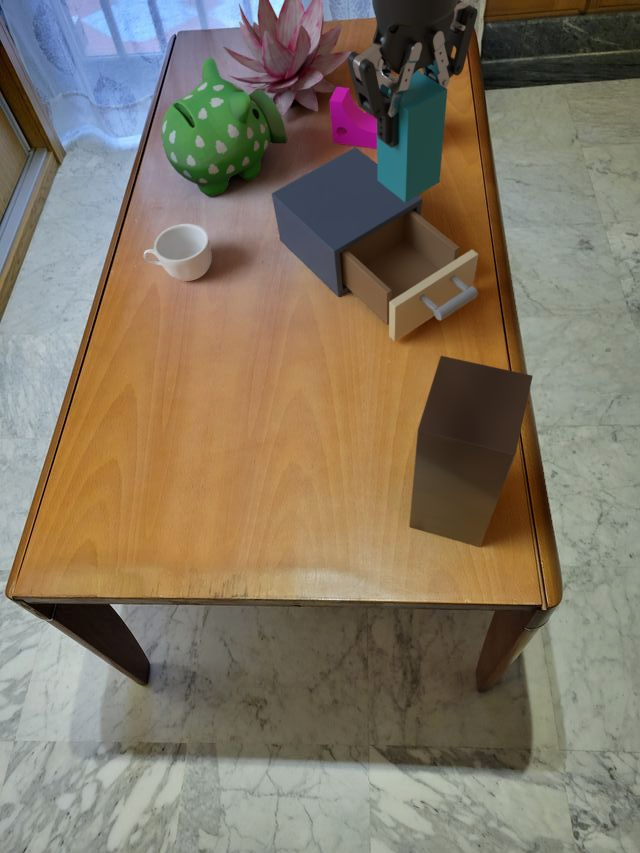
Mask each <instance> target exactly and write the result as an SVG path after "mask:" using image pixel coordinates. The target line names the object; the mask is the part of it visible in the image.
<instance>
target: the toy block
mask: <svg viewBox="0 0 640 853" xmlns="http://www.w3.org/2000/svg"><path fill="white" fill-rule="evenodd" d="M329 110H330V111H329V113H330V122H331V124H330V125H331V135H332V144H339V145H346V146H354V147H360V148H368V149H373V150H374V149H375V150H377V119H376V118H375V117H373V116H372V115H370V114H369V113H368V112H366V111H364V110H363V109H362V108H361V107H360V106H359V105H358V104H356V102H355V101H354V99H353V96H352V94H351V92H350V87H343V86H336V89H335V91H334V92H332V95H331V97H330V99H329Z"/></svg>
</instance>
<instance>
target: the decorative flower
mask: <svg viewBox="0 0 640 853" xmlns="http://www.w3.org/2000/svg"><path fill="white" fill-rule="evenodd" d="M270 1H271V0H258V5H257V6H258V7H257V14H256V15H257V22H255V21H253V22H252V25H251V23H250V21H249V20H248V19H247V17H246V15H245V12H244V10H243V8H242V6H241V4H240V3H238V7H239V12H240V19H241V21H238V24H239V27H240V33H241V36H242V40H243V42H244V44H245V45H246V47H247V49H248V50H249V52H250V53H251V55H252V56H253V57H254V58H255V59H254V58H252V57H248V56H246V55H243V54H241V53H238V52H236V51H233V50H232V49H230V48H227V47H226V46H223V49H224V51H226V52H227V53H228V55H229V56H230V58H232V59H233V60H235V61H237V62H238V63H239V64H240V65H242V66H244V67H246V68H247V69H249V70H252V71H254V72H256V73H259V74H263V75H259V76H249V77H236V76H234V75H229V74H228V77H230V78H232V79H233V80H235V81H238V82H242V83H246V84H244V87H247V88H252V89H258V88H261V87H266V86H267V87H266V88H265V89H264V90H263V91H264V92H265V93H266V94H267V95H268V96H269V97H270V98H271V99H272V98H273V99H272V101H273V102H274V103H275V105H276V106H277V108H278V110H279V112H280V114H281V116H282V117H283V116H284V115H285V114H286V113H287V112H288V111H289V110H290V108H291V106H292V103H293V102H294V100H296V102H298V104H300V105H301V106H303V107H304V108H306V109H309V110H311V111H314V112H318V111H319V105H318V104H319V103H318V98H317V96H316V95H317V94H316V93H322V94H323V93H324V94H327V93H328V94H329V93H334V91H335V89H336V88H337V86H335V85H334V84H332V82H329V80H327V79H325V78H324V77H326V76H328V75H329V74H331V73H333V72H334V71H335V70H336V69H337V68H338V67H339V66H340V65H341V64H343V63H344V62H345V61H347V60H348V56H349V55H350V53H351V52H352V50H348V51H340V52H333V50H334V49H335V47H336V45H337V43H338V41H339V37H340V34H341V31H342V29H343V25H342V23H341V24H339V25H337V26H334V27H333V28H331V29H329V30H327V31H326V32H324V33H323V29H324V25H325V22H324V20H325V18H324V17H325V16H324V5H323V0H311V1H310V3H309V4H308V6H307V7H306V9H305V7H304V3H303V1H302V0H283V3H282V6H281V8H280V10H279V13H278V15H277V14H276V11H275V10H274V7H273V5H272V3H271V2H270Z"/></svg>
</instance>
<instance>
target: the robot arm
mask: <svg viewBox="0 0 640 853" xmlns="http://www.w3.org/2000/svg"><path fill="white" fill-rule="evenodd" d="M371 3H372V4H371V5H372V8H373V14H374V16H375V21H376V28H375V32H374V34H373V38H372V44H371V45H370V46H368V47H367V49H365V50H364V51H362V53H358V51H356V50H354V51H351V53H350V55H349V56H348V57H347V66H348V70H349V73H350V76H351V80H352V83H353V88H354V91H355V96H356V99H357V103H358V107H359V108H360V109H361V110H363V111H364V112H365V113H366V112H368V113H369V114H370V115H372V116H373V117H375V118H376V119H377V136H378V138H379V139H380V140H382V141H383V142H384V143H385V144H387V145H388V146H389V147H391V148H393V147H395V146H396V145H398V138H399V113H397V112H398V109H399V106H400V102H401V99H402V95H403V93H404V92H407V91H408V88H409V85H410V81H411V78H412V75H413V74H414V73H415V72H416V71H417V70H418V71H419V70H420V69H421V70H422V73H423V74H424V75H426V76H427V77H429V78H430V79H432V80H434V81H435V82H437V83H438V84H440V85H441V86H443V87H445V88H446V89H447V87H448V86H449V83H450V79H451V78H452V77H453V76H458V77H459V75H461V74H462V72H463V71H464V68H465V63H466V60H467V55H468V53H469V52H468V51H469V48H470V44H471V40H472V36H473V33H474V28H475V25H476V21H477V17H478V9H477V8H476V7H474V6H472V5H471V4H470V3H467V2H466V1H463V0H371ZM454 48H455V53H454V57H453V56H452V55H453V50H454ZM393 72H394V73H395V74H396V75H398V76H396V75H394V74H393ZM397 77H398V78H397ZM389 88H390V90H391V94H390V97H389V99H388V98H387V95H388V91H389Z"/></svg>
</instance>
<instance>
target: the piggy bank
mask: <svg viewBox="0 0 640 853" xmlns="http://www.w3.org/2000/svg"><path fill="white" fill-rule="evenodd" d="M201 78H202V79H201V80H202V82H200V83H199V84H198V85H197V86H196V87H195V88H194V89H193V90H192V91H191V92H189V93H188V94H187V95H186V96H184V97H182V98H180V99H178V100H176V101H174V102H173V103H172V104H171V105H170V106H169V108H168V109H167V111H166V112H165V114H164V117H163V119H162V122H161V134H160V135H161V142H162V147H163V150H164V153H165V156H166V159H167V160H168V162H169V164H170V165H171V167H172V168H173V170H175V172H176V173H177V174H179V175H180V176H181V177H183V178H184V179H185V180H187V181H189V182H190V183H193V184H196V185H197V187H198V189H199V191H200V192H201V193H203V195H205V196H207V197H209V198H211V197H215V196H218V195H220V194H223V193H224V192H225V191H226V190H227V188H228V186H229V181H230V179H231V178H232V177H234V176H236V175H237V174H238V175H239V176H240V177H241V178H242V179H243V180H245V181H246V182H250V181H252V180H254V179H256V178H257V177H258V176H259V174H260V171H261V168H262V158H263V155H264V154H265V153H266V151H267V149H268V148H269V146H270V145H271V144H272V145H273V144H275V145H281V144H286V143H287V141H288V135H287V130H286V127H285V126H286V125H285V122H284V120H283V116H281V114H280V112H279V110H278V108H277V106H276V102H273V99H272V97H271V98H270V97H269V96H268V95H267V94H266V93H265V92H264V91H265V90H262V89H261V88H260V89H259V88H256V89H255V90H254V91H253V92H250V93H249V94H248V93H247V92H246V91H245V90H244V89H243V88H242V87H240V86H238V85H237V84H234V82H230V81H229V80H226V79H224V78H222V77H221V75H220V71H219V69H218V65H217V63H216V60H215V59H214V58H213V57H209V58H207V59H205V60H204V62H203V64H202V68H201Z"/></svg>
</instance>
